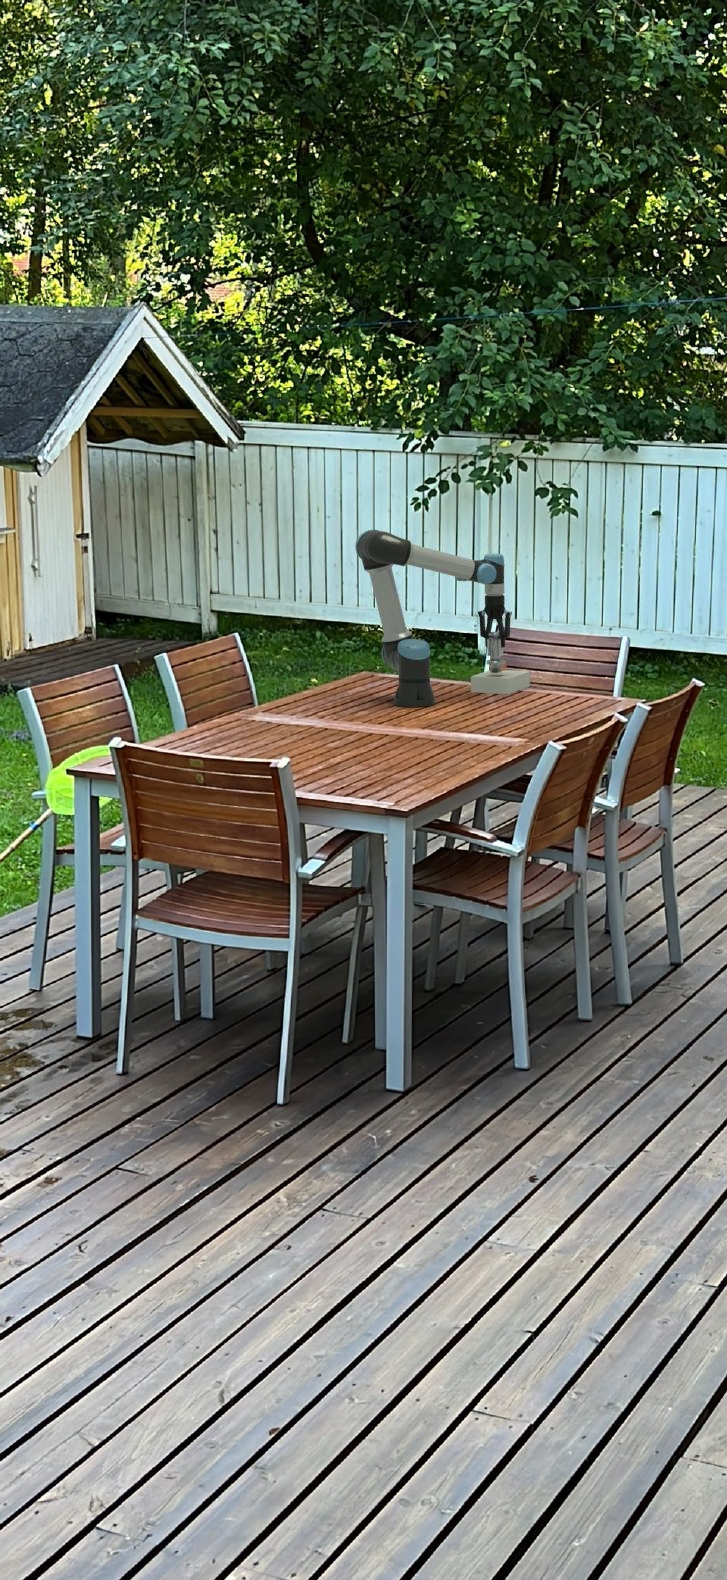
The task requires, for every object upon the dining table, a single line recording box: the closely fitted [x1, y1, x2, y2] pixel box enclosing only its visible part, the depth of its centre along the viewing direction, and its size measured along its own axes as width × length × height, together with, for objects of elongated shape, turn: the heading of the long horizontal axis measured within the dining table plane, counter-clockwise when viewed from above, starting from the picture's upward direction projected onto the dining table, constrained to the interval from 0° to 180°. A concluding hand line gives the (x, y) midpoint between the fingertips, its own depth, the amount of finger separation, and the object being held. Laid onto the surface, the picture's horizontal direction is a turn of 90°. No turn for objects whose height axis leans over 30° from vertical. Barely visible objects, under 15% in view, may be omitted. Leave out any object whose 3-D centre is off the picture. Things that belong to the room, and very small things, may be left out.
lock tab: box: [501, 659, 508, 670], centre depth 700 cm, size 11×4×3 cm, turn 152°
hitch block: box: [470, 669, 531, 695], centre depth 693 cm, size 16×20×6 cm
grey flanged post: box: [486, 631, 504, 672], centre depth 686 cm, size 7×7×15 cm
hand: (495, 655), depth 687 cm, fingers closed on grey flanged post, 4 cm apart
